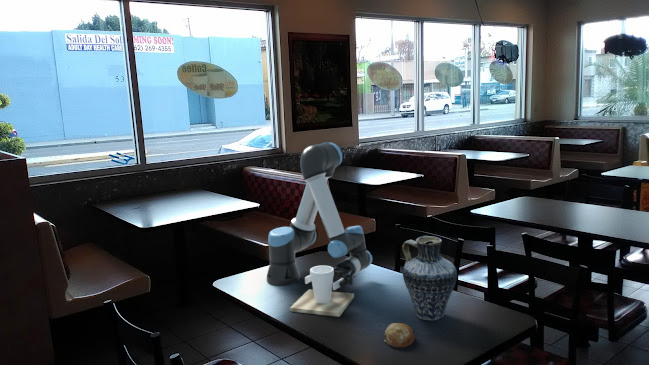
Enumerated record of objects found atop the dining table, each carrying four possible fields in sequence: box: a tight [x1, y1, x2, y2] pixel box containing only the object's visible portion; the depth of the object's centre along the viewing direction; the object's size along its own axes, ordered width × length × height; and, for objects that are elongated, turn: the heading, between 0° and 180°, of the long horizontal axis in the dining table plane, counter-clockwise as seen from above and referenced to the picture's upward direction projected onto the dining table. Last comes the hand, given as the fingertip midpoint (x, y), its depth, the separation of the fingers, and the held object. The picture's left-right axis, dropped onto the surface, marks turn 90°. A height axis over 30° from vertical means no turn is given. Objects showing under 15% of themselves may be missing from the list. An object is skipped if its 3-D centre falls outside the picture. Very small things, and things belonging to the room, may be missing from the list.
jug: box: [401, 235, 458, 321], centre depth 195 cm, size 21×19×30 cm
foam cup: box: [309, 265, 334, 303], centre depth 211 cm, size 10×9×13 cm
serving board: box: [290, 288, 355, 318], centre depth 212 cm, size 20×20×2 cm
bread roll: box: [383, 322, 416, 348], centre depth 179 cm, size 10×10×8 cm
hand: (319, 283), depth 209 cm, fingers open, 13 cm apart
